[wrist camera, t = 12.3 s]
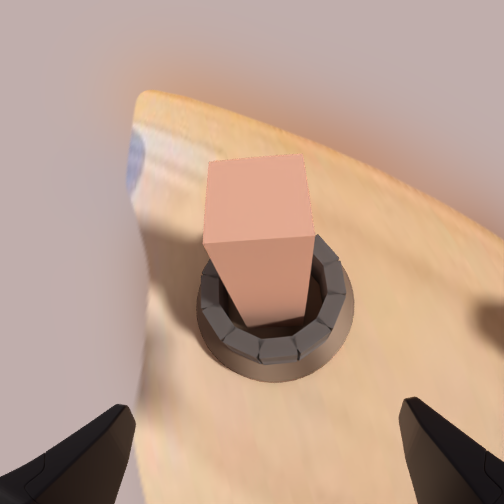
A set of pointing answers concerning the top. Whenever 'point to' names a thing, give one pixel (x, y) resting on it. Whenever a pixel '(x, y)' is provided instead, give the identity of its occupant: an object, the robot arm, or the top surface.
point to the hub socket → (280, 338)
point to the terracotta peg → (261, 236)
